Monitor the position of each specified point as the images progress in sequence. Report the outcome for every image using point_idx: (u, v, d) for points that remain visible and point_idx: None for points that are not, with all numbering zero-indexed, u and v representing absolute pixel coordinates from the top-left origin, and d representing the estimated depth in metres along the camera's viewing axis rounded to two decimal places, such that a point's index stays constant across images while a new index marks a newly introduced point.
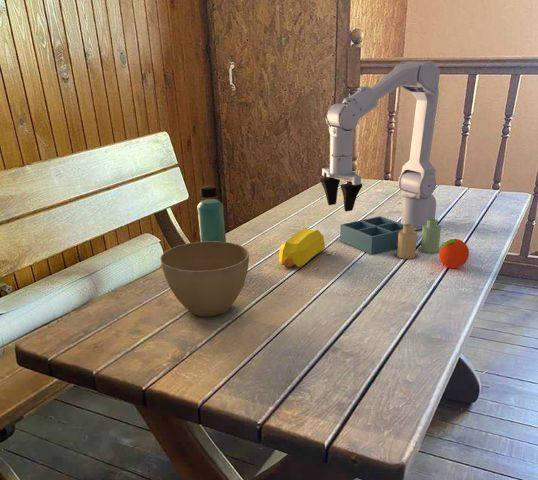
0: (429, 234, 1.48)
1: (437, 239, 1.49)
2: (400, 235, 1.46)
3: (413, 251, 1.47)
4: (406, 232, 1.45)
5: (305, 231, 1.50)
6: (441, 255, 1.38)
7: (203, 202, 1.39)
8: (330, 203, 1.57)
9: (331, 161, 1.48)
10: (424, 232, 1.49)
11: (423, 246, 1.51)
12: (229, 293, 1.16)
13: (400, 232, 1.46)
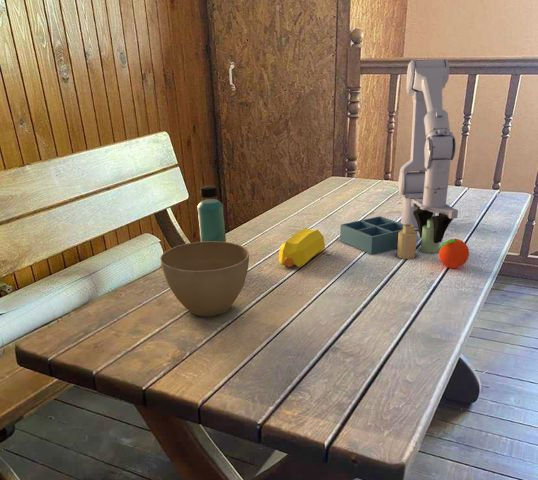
0: (430, 234, 1.48)
1: None
2: (400, 235, 1.46)
3: (413, 251, 1.47)
4: (406, 232, 1.45)
5: (305, 231, 1.50)
6: (441, 255, 1.38)
7: (203, 202, 1.39)
8: None
9: (425, 193, 1.44)
10: (424, 232, 1.49)
11: (423, 246, 1.51)
12: (229, 293, 1.16)
13: (400, 232, 1.46)
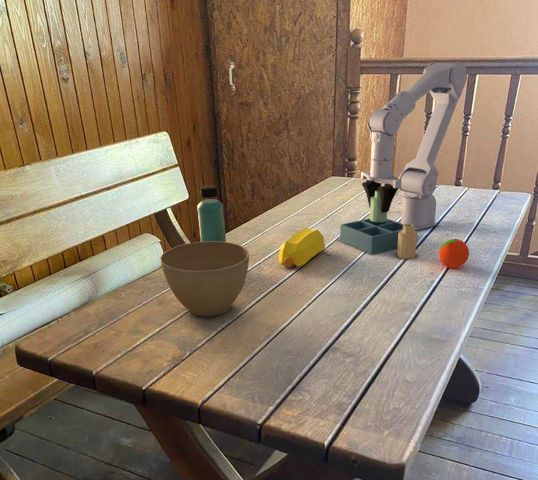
0: (377, 204, 1.57)
1: None
2: (400, 235, 1.46)
3: (413, 251, 1.47)
4: (406, 232, 1.45)
5: (305, 231, 1.50)
6: (441, 255, 1.38)
7: (203, 202, 1.39)
8: None
9: (372, 165, 1.53)
10: (372, 202, 1.58)
11: (372, 216, 1.59)
12: (229, 293, 1.16)
13: (400, 232, 1.46)
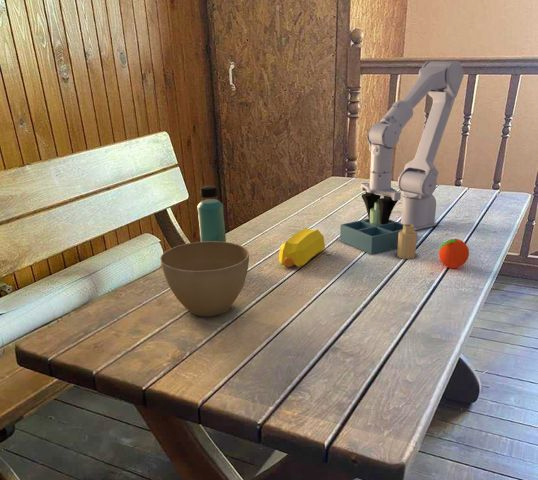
0: (376, 216, 1.58)
1: None
2: (400, 235, 1.46)
3: (413, 251, 1.47)
4: (406, 232, 1.45)
5: (305, 231, 1.50)
6: (441, 255, 1.38)
7: (203, 202, 1.39)
8: None
9: (371, 177, 1.54)
10: (371, 214, 1.59)
11: None
12: (229, 293, 1.16)
13: (400, 232, 1.46)
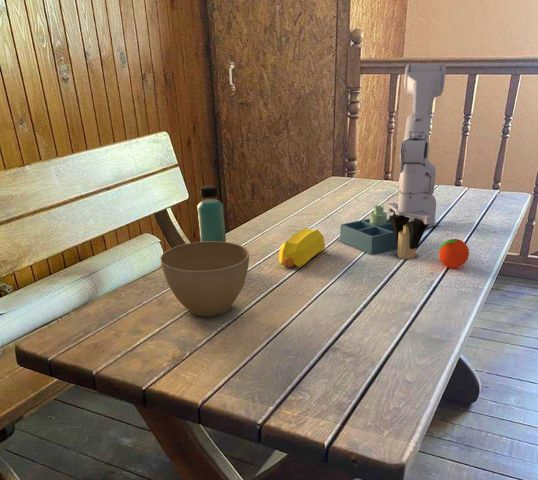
0: (376, 220, 1.59)
1: None
2: (400, 235, 1.46)
3: (413, 251, 1.47)
4: (406, 232, 1.45)
5: (305, 231, 1.50)
6: (441, 255, 1.38)
7: (203, 202, 1.39)
8: None
9: (401, 198, 1.41)
10: (371, 218, 1.60)
11: None
12: (229, 293, 1.16)
13: (400, 232, 1.46)
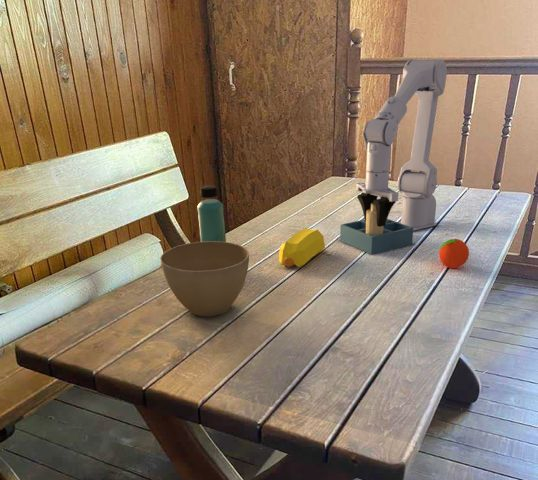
0: None
1: None
2: (368, 213, 1.50)
3: (381, 229, 1.51)
4: (373, 210, 1.49)
5: (305, 231, 1.50)
6: (441, 255, 1.38)
7: (203, 202, 1.39)
8: None
9: (367, 177, 1.45)
10: None
11: None
12: (229, 293, 1.16)
13: (368, 210, 1.51)
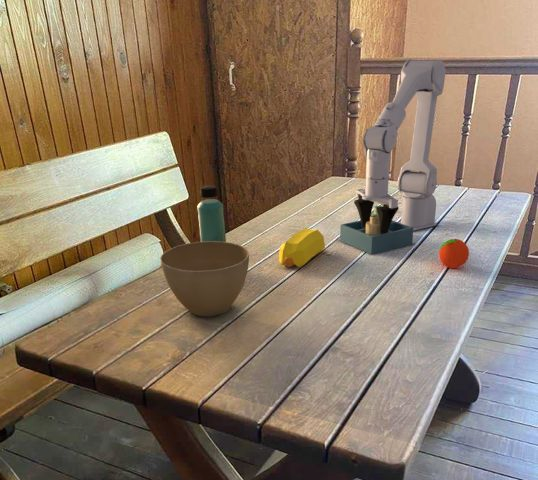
0: None
1: None
2: (367, 225, 1.52)
3: None
4: (373, 223, 1.51)
5: (305, 231, 1.50)
6: (441, 255, 1.38)
7: (203, 202, 1.39)
8: (364, 225, 1.55)
9: (367, 184, 1.46)
10: None
11: None
12: (229, 293, 1.16)
13: (367, 223, 1.52)
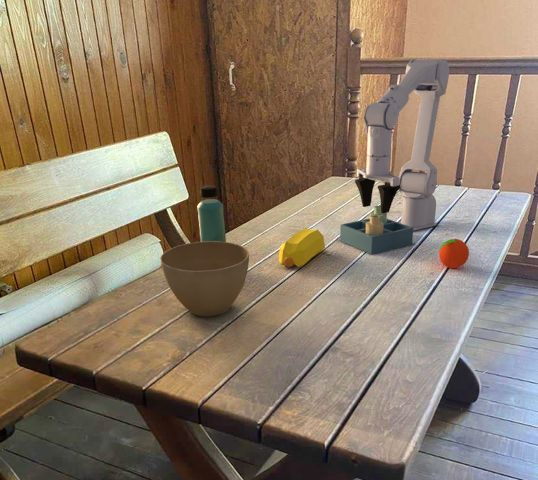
0: None
1: None
2: (367, 225, 1.52)
3: None
4: (373, 223, 1.51)
5: (305, 231, 1.50)
6: (441, 255, 1.38)
7: (203, 202, 1.39)
8: (365, 205, 1.53)
9: (368, 161, 1.44)
10: None
11: None
12: (229, 293, 1.16)
13: (367, 223, 1.52)
